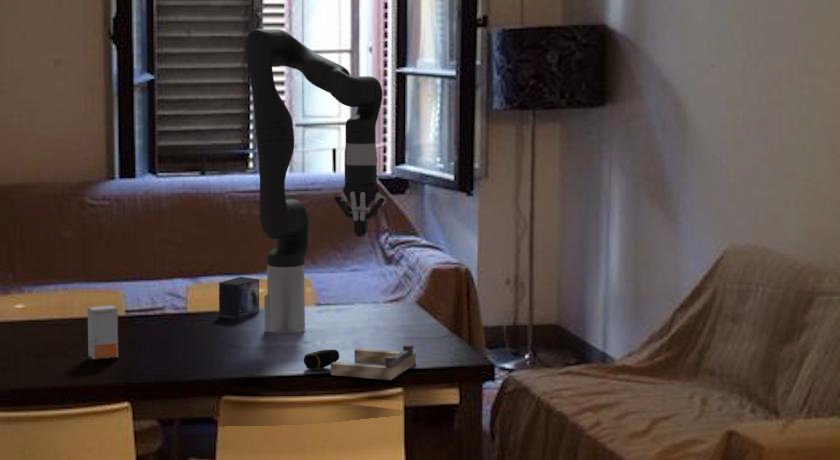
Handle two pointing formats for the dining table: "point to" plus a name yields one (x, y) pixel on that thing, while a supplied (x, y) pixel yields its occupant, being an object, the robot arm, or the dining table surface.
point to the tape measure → (320, 359)
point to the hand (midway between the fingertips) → (360, 236)
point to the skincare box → (102, 332)
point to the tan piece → (393, 360)
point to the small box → (238, 297)
